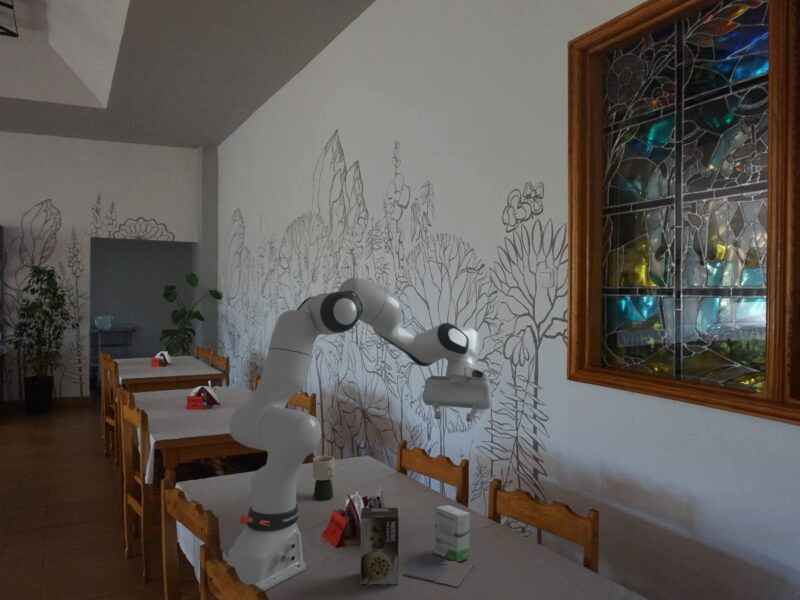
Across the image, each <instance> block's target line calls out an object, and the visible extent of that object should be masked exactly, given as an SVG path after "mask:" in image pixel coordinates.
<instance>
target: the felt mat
mask: <svg viewBox="0 0 800 600" xmlns="http://www.w3.org/2000/svg"><path fill="white" fill-rule="evenodd" d="M444 559H445V560H447V561H449V560H450V559H448V558H442V557H438V556H437V557H436V556H432V555H427V554H422V553H421V554H420V556H419V557H418V558H416V559H415V561H413V562H412V564H411V565H410V566H409V567H408V568H407V569H406V570H405V571H404V572H403V574H402V576H404V575H405V576H404V577H409V576H410V577H409V578H413V577H415V578H414V579H417V578H421V579H420V580H422V579H426V580H431V581H437V580H439V579H438V578H442V577H441V576H442V574H444V573H445V572H446V571H448V570H447V569H449V568H448V567H445V566H444V565H447V566H448V564H444V563H443V562H446V561H445V560H444ZM442 561H443V562H442ZM441 563H442V564H441ZM446 563H447V562H446ZM442 566H443V567H442ZM444 567H445V568H444ZM443 569H444V570H443ZM453 569H455V568H453ZM450 570H451V569H450ZM456 570H458V569H456ZM460 570H461V569H460ZM442 571H443V572H442ZM452 571H454V570H452ZM449 572H450V571H449ZM459 572H460V571H459ZM440 573H441V574H440ZM438 575H440V576H438ZM443 577H445V576H443ZM426 580H425V581H426ZM431 581H430V582H431ZM440 581H442V580H440ZM438 582H439V581H438Z"/></svg>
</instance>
